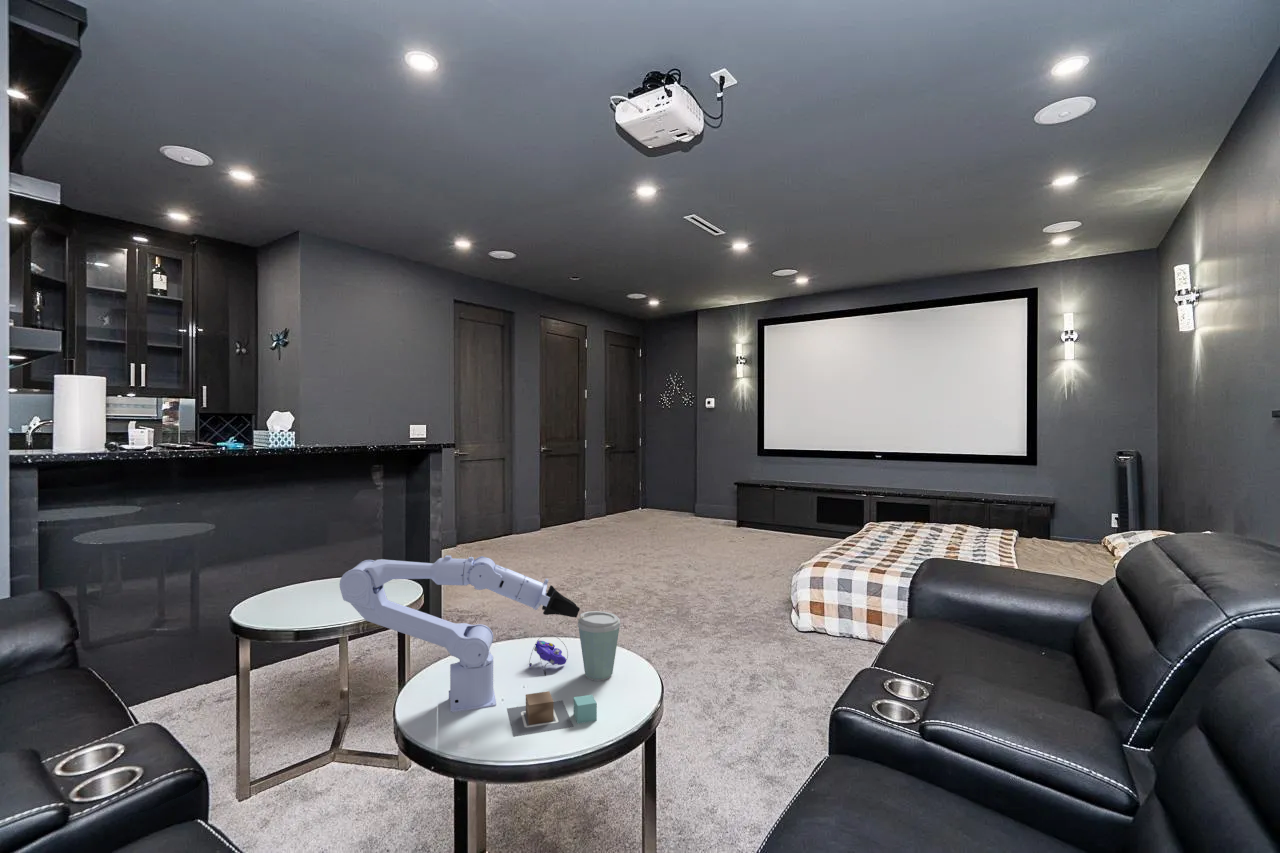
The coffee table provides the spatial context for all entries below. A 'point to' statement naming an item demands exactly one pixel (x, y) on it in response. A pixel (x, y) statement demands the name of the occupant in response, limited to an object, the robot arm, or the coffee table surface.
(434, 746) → the coffee table surface
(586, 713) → the teal cube
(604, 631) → the disposable coffee cup
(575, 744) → the coffee table surface
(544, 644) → the game controller
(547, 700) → the walnut block
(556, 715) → the mat
